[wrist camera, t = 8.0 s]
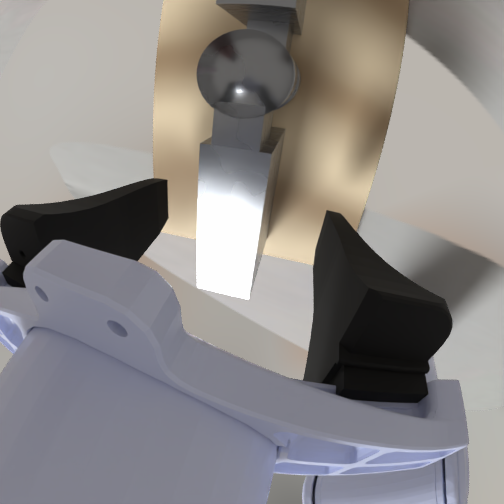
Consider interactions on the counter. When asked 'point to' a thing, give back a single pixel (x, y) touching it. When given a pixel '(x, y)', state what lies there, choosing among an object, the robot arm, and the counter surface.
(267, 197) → the loose hinge leaf
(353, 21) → the hinge board
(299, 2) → the fixed hinge leaf
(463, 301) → the counter surface
